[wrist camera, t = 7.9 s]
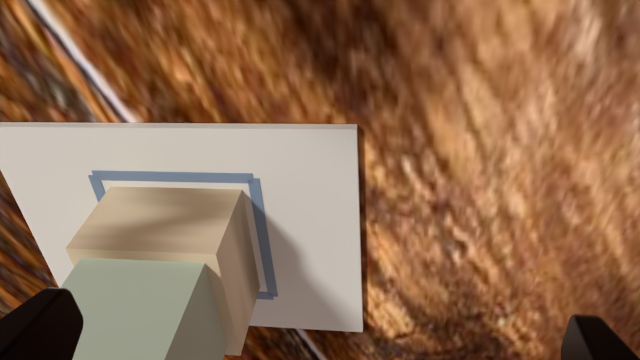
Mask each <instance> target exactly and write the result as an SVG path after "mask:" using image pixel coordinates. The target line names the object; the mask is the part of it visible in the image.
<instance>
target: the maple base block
mask: <svg viewBox="0 0 640 360" xmlns="http://www.w3.org/2000/svg"><path fill="white" fill-rule="evenodd" d="M65 249H66V251H67V253H68V255H69V257H70V260H71V262H72V264H73V266H74V267H75V265H76V264H77V262H78V261H79V259H80V258H102V259H126V260H149V261H173V262H196V263H205V266H206V270H207V274H208V278H209V281H210V285H211V289H212V293H213V297H214V300H215V304H216V308H217V312H218V316H219V319H220V323H221V327H222V331H223V335H224V338H225V342H226V346H227V348H226V351H225V354H224V355H239V356H240V355H241V352H242V348H243V345H244V341H245V338H246V334H247V331H248V327H249V324H250V320H251V317H252V313H253V310H254V306H255V303H256V299H257V296H258V292H259V289H260V284H259V278H258V273H257V268H256V262H255V257H254V252H253V246H252V241H251V236H250V230H249V225H248V220H247V214H246V209H245V203H244V198H243V193H242V189H206V188H162V187H119V186H110V188H109V189H108V190H107V192H106V193H105V195H104V196H103V197H102V199H101V200H100V201H99V203H98V204H97V206H96V207H95V208H94V210H93V211H92V212H91V214H90V215H89V216H88V218H87V219H86V221H85V222H84V223H83V225H82V226H81V227H80V229H79V230H78V232H77V233H76V234H75V236H74V237H73V238H72V240H71V241H70V242H69V244H68V245H67V247H66V248H65Z"/></svg>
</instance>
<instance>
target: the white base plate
mask: <svg viewBox="0 0 640 360" xmlns="http://www.w3.org/2000/svg"><path fill="white" fill-rule="evenodd" d="M0 170H1V172H2V174H3V176H4V178H5V180H6V182H7V184H8V186H9V188H10V190H11V192H12V194H13V196H14V198H15V200H16V202H17V204H18V206H19V208H20V210H21V212H22V214H23V216H24V218H25V220H26V222H27V224H28V226H29V228H30V230H31V232H32V234H33V236H34V238H35V240H36V242H37V244H38V246H39V248H40V250H41V252H42V254H43V256H44V258H45V260H46V262H47V264H48V266H49V268H50V270H51V272H52V274H53V276H54V278H55V280H56V282H57V284H58V286H59V288H60V287H61V286H62V284H63V283H64V281H65V280H66V279H67V277H68V276H69V274H70V273H71V271H72V270H73V268H74V266H73V264H72V262H71V260H70V257H69V255H68V253H67V251H66V249H65V248H66V247H67V245H68V244H69V242H70V241H71V240H72V238H73V237H74V236H75V234H76V233H77V232H78V230H79V229H80V227H81V226H82V225H83V223H84V222H85V221H86V219H87V218H88V216H89V215H90V214H91V212H92V211H93V210H94V208H95V207H96V206H97V204H98V203H99V201H100V200H101V199H102V197H103V196H104V195H105V193H106V192H107V190H108V189H109V188H110V186H119V187H162V188H206V189H242V193H243V198H244V203H245V209H246V214H247V220H248V225H249V230H250V236H251V241H252V246H253V252H254V257H255V262H256V268H257V273H258V278H259V284H260V289H259V292H258V296H257V299H256V303H255V306H254V310H253V313H252V317H251V320H250V324H249V326H264V327H281V328H298V329H315V330H332V331H349V332H363V302H362V267H361V233H360V199H359V164H358V130H357V124H229V123H49V122H0Z"/></svg>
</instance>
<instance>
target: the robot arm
mask: <svg viewBox="0 0 640 360" xmlns="http://www.w3.org/2000/svg"><path fill="white" fill-rule="evenodd" d="M83 324H84V320H83V315H82V313H81V311H80V309H79V307H78V305H77V303H76V301H75V299H74V297H73V295H72V293H71V291H70V290H68V289H66V288H46V289H44V290H42V291H40V292H39V293H37V294H36V295H34V296H33V297H32V298H30V299H29V300H27V301H26V302H24V303H23V304H21V305H20V306H19V307H17V308H16V309H14V310H13V311H11V312H10V313H8V314H7V315H6V316H4V317H3V318H1V319H0V360H72V359H73V356H74V353H75V350H76V347H77V344H78V341H79V339H80V336H81V333H82V330H83ZM561 359H562V360H640V358H639V357H638V356H637V355H636V354H635V353H634V352H633V351H632V350H631V349H630V348H629V347H628V346H627V345H626V344H625V342H624V341H623V340H622V339H621V338H620V337H619V336H618V335H617V334H616V333H615V332H614V331H613V330H612V329H611V328H610V327H609V326H608V325H607V324H606V322H605V321H604V320H603V319H602V318H600V317H598V316H596V315H583V314H574V315H572V316H571V317H570V319H569V322H568V326H567V329H566V332H565V336H564V339H563V342H562V346H561Z"/></svg>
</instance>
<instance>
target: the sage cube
mask: <svg viewBox="0 0 640 360" xmlns="http://www.w3.org/2000/svg"><path fill="white" fill-rule="evenodd" d="M60 288H66V289H68V290H70V291H71V293H72V295H73V297H74V299H75V301H76V303H77V305H78V307H79V309H80V311H81V313H82V315H83V320H84V324H83V330H82V333H81V336H80V339H79V341H78V344H77V347H76V350H75V353H74V356H73V359H72V360H223V357H224V354H225V351H226V348H227V346H226V342H225V338H224V335H223V331H222V327H221V323H220V319H219V316H218V312H217V308H216V304H215V300H214V297H213V293H212V289H211V285H210V281H209V278H208V274H207V270H206V266H205V263H196V262H173V261H149V260H126V259H102V258H80V259H79V261H78V262H77V264H76V265H75V267H74V268H73V270H72V271H71V273H70V274H69V276H68V277H67V279H66V280H65V281H64V283H63V284H62V286H61V287H60Z"/></svg>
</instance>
